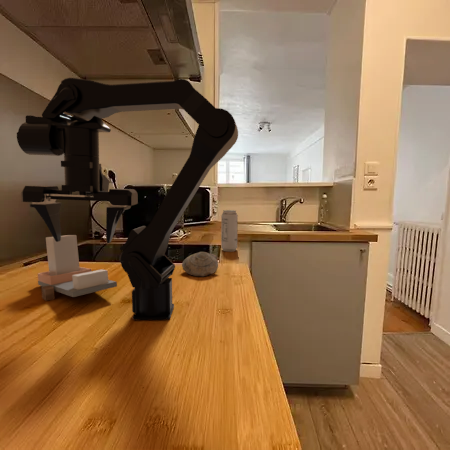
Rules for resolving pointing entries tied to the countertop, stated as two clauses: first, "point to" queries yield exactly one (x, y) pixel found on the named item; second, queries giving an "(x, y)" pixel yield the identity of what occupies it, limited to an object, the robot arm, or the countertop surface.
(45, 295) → the pivot stand
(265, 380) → the countertop surface
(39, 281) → the board
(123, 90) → the robot arm
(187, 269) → the fossilized seashell
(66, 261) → the grey block
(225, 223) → the energy drink can
